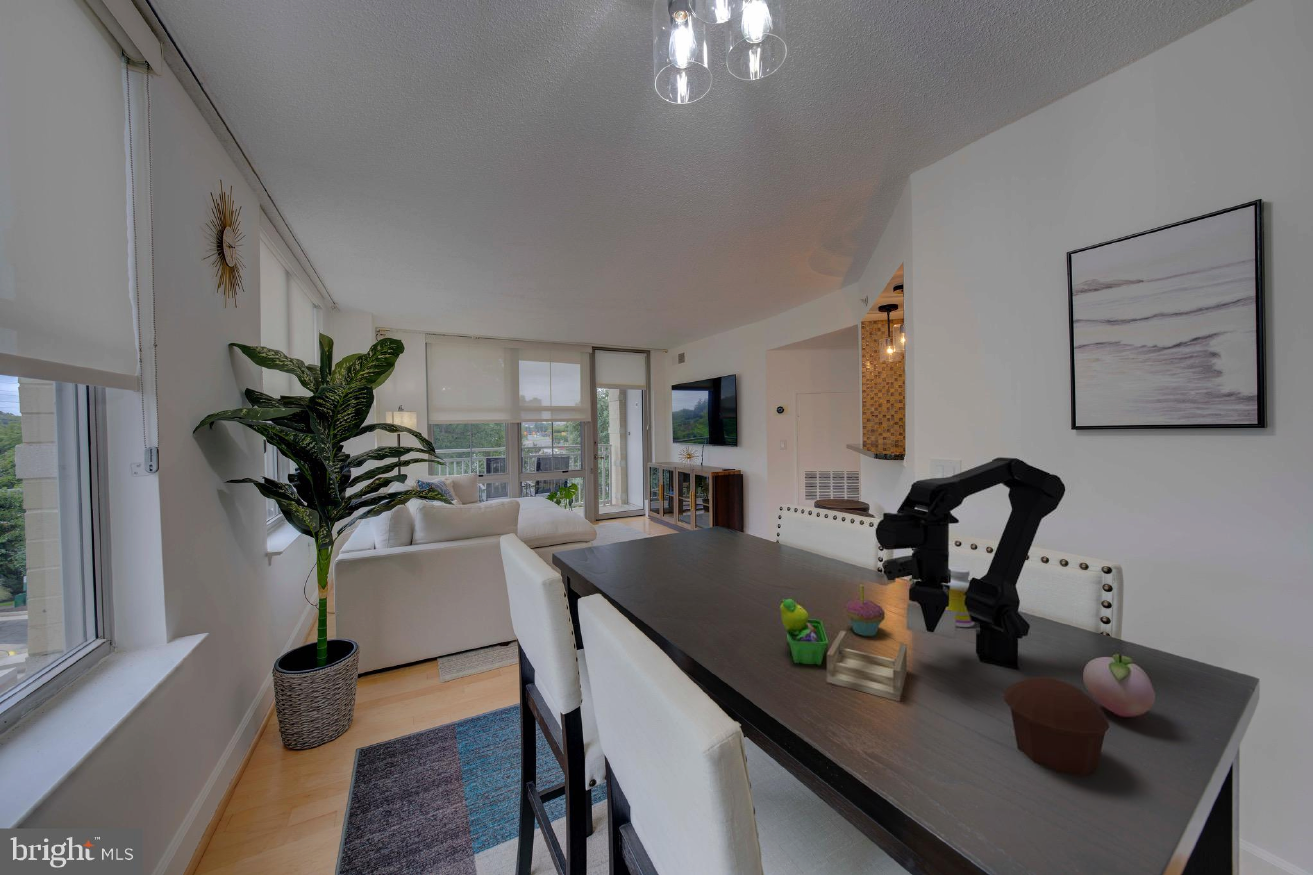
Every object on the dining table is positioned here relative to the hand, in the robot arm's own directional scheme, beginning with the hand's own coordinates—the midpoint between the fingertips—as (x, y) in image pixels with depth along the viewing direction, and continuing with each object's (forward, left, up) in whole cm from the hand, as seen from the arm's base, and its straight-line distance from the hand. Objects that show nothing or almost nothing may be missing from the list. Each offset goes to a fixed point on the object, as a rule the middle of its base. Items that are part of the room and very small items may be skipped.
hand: (930, 626), depth 93 cm
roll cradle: (+10, +10, -8) cm, 16 cm away
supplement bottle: (-4, -28, -8) cm, 30 cm away
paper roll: (0, 0, -1) cm, 1 cm away
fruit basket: (+23, +7, -8) cm, 25 cm away
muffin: (-16, +19, -8) cm, 26 cm away
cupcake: (+14, -11, -8) cm, 20 cm away
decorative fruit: (-26, +2, -8) cm, 28 cm away
